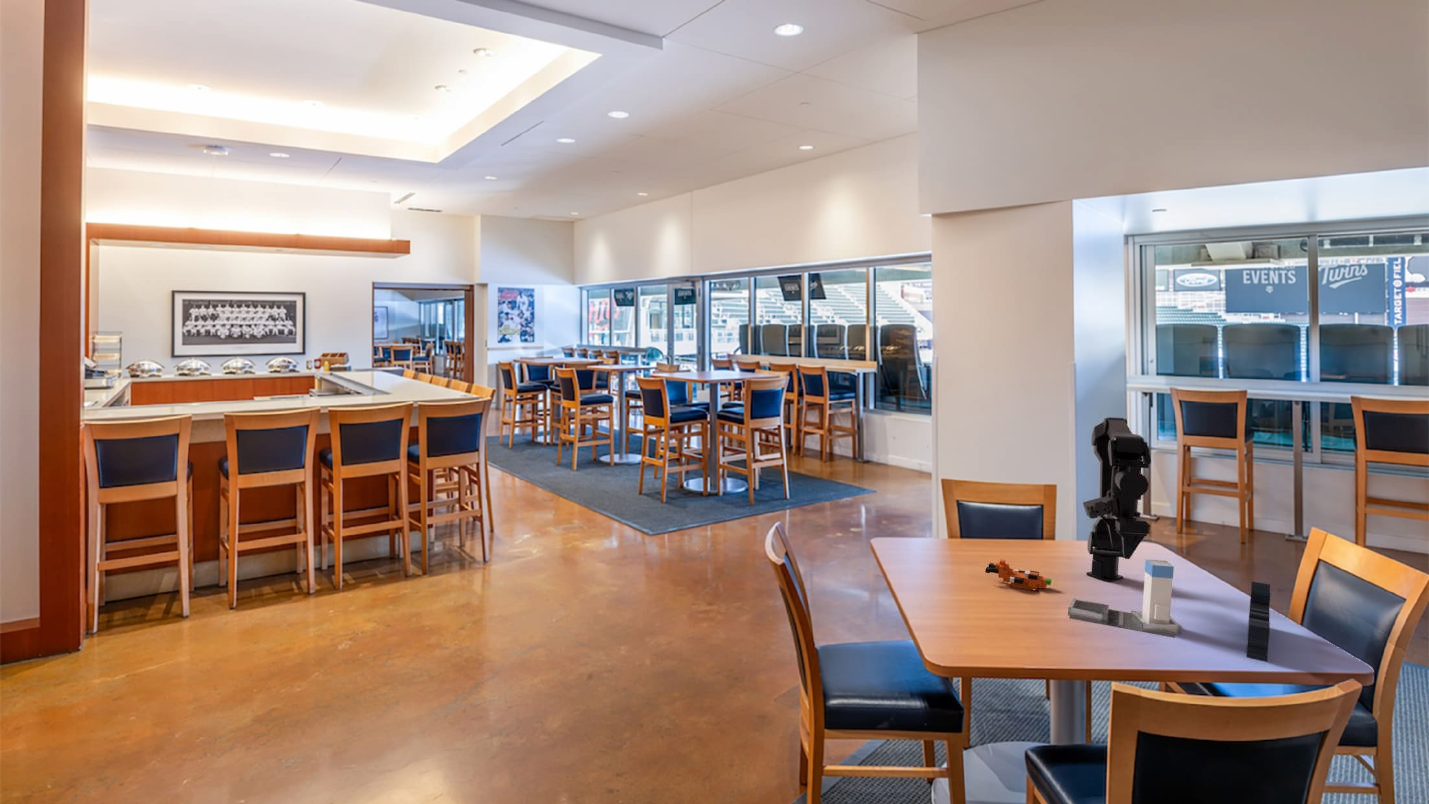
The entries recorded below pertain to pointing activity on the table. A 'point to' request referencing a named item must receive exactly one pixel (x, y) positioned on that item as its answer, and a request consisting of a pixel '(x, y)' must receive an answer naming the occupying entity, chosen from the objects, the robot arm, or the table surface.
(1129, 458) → the robot arm
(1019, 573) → the toy
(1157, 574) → the plug
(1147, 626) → the gray square frame
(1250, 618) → the logo
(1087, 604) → the grey square holder
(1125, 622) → the panel
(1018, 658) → the table surface
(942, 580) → the table surface
